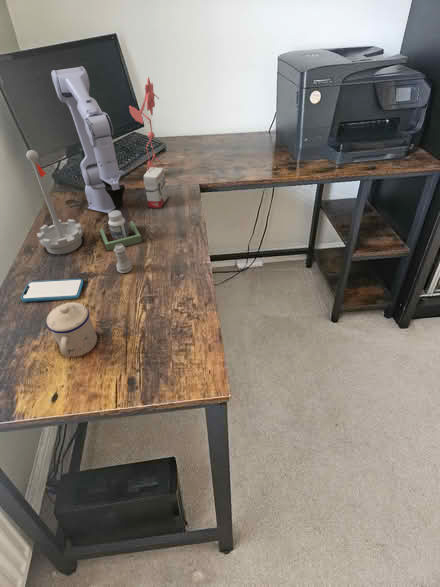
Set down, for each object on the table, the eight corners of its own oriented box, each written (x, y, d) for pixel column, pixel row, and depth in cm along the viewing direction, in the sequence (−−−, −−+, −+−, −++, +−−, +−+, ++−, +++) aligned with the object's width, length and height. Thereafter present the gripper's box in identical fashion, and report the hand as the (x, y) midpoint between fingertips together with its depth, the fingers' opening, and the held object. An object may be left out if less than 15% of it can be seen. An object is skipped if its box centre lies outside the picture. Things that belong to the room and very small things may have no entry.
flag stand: (35, 245, 122) (-5, 152, 102) (71, 228, 129) (41, 138, 109) (56, 261, 115) (17, 164, 95) (93, 242, 122) (64, 148, 102)
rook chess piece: (135, 266, 112) (130, 243, 107) (127, 275, 109) (121, 252, 104) (121, 263, 113) (116, 240, 108) (114, 272, 110) (107, 249, 105)
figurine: (138, 185, 152) (120, 88, 129) (151, 159, 172) (137, 71, 149) (177, 185, 151) (165, 86, 128) (185, 159, 170) (176, 69, 147)
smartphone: (77, 296, 101) (20, 299, 101) (79, 299, 102) (21, 302, 101) (83, 278, 107) (28, 281, 106) (84, 281, 108) (30, 284, 107)
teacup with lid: (64, 330, 93) (48, 294, 86) (101, 327, 93) (88, 291, 86) (50, 370, 84) (31, 334, 77) (92, 367, 84) (77, 331, 77)
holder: (101, 235, 125) (99, 228, 124) (134, 227, 128) (132, 220, 127) (107, 250, 118) (105, 244, 117) (141, 241, 122) (140, 235, 120)
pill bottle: (122, 231, 127) (116, 207, 121) (132, 236, 124) (126, 212, 118) (109, 238, 124) (102, 214, 118) (119, 244, 121) (113, 219, 115)
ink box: (161, 208, 137) (156, 177, 129) (148, 207, 138) (142, 176, 130) (168, 197, 144) (164, 167, 136) (155, 196, 144) (151, 166, 137)
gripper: (125, 165, 108) (134, 209, 117) (114, 148, 118) (123, 189, 127) (100, 170, 106) (111, 214, 115) (91, 152, 116) (102, 194, 125)
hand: (116, 201), depth 121 cm, fingers open, 7 cm apart
